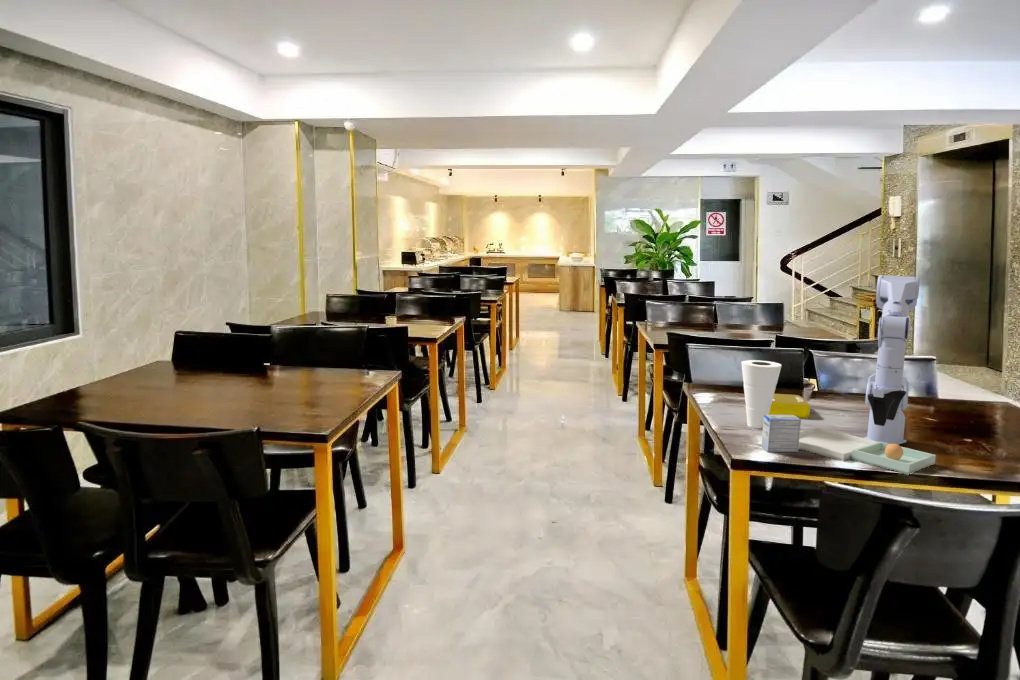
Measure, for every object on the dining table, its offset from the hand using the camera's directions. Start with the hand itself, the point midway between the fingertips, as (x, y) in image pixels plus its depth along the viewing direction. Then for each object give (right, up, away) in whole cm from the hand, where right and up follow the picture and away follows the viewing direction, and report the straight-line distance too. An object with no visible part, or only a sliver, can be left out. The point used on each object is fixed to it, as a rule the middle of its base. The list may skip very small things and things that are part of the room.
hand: (884, 422), depth 177 cm
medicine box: (-22, -8, +9) cm, 25 cm away
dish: (+3, -10, +1) cm, 10 cm away
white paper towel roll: (-20, -5, +32) cm, 38 cm away
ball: (+3, -7, +1) cm, 8 cm away
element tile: (-7, -3, +50) cm, 51 cm away
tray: (-8, -8, +14) cm, 17 cm away
